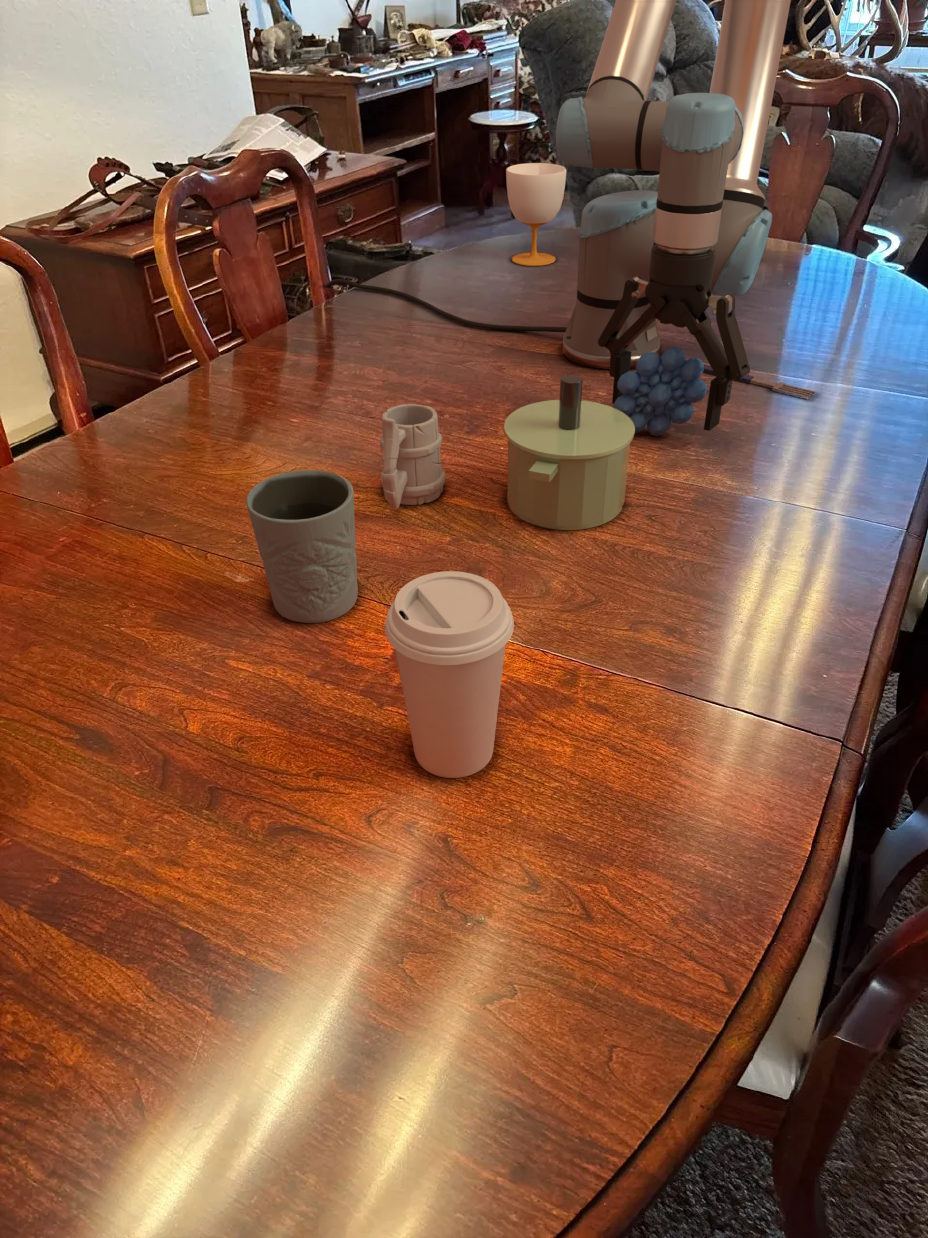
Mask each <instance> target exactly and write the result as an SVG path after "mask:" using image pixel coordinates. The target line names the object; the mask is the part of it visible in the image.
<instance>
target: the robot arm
mask: <svg viewBox="0 0 928 1238" xmlns="http://www.w3.org/2000/svg"><path fill="white" fill-rule="evenodd" d="M791 2H792V0H724V4H723V11H722V17H721V21H720V22H721V23H720V28H719V35H718V40H717V46H716V53H715V58H714V65H713V70H712V76H711V81H710V87H709V92H689V93H683V94H677V95H674V96H672V97H671V98H670V99H669V100H668V101H661V100H657V101H656V100H648V97H649V95H650V90H651V87H652V83H653V82H654V81H653V80H654V77H655V73H656V71H657V66H658V63H659V60H660V57H661V54H662V51H663V47H664V44H665V40H666V37H667V33H668V30H669V26H670V23H671V20H672V16H673V13H674V9H675V7H676V3H677V0H615V3H614V5H613V9H612V12H611V15H610V18H609V22H608V25H607V28H606V31H605V33H604V37H603V39H602V43H601V46H600V49H599V53H598V56H597V59H596V62H595V65H594V67H593V71H592V75H591V78H590V81H589V83H588V87H587V90H586V93H585V97H583V96H579V97H572V98H571V97H570V98H568V99H566V100H565V101H564V102H563V103H562V105H561V106H560V108H559V112H558V115H557V120H556V128H555V146H556V152H557V155H558V158H559V160H560V161H561V162H562V163H563V164H565V165H567V166H574V167H581V168H588V169H592V170H593V169H615V170H637V171H638V170H640V171H641V170H642V171H652V172H658V184H657V185H658V186H657V190H651V189H636V190H635V189H634V190H626V191H619V192H618V191H617V192H612V193H608V194H605V195H601V196H598V197H596V198H594V199H592V200H590V201H589V202H587V203H586V205H585V206H584V208H583V209H582V213H581V222H580V231H579V232H578V239H579V245H578V247H579V248H578V266H577V284H576V286H577V287H576V301H575V305H574V308H573V310H572V314H571V316H570V318H569V322H568V324H567V326H544V325H543V326H541V325H540V326H535V325H534V326H530V325H529V326H526V325H507V324H506V325H505V324H492V323H484V322H479V321H473V320H468V319H465V318H462V317H460V316H457V315H454V314H452V313H450V312H446V311H445V310H442V309H440V308H438V307H437V306H435V305H433V304H431V303H430V302H427V301H425V300H422V299H420V298H418V297H416V296H413V295H412V294H409V293H405V292H403V291H400V290H396V289H392V288H387V287H381V286H375V285H369V284H363V283H362V284H361V283H358V282H355V281H351V280H348V279H344V278H334V279H332V280H330V281H329V282H328V283H327V284H325V287H324V288H326V289H330V288H331V287H332V286H334V285H337V284H343V285H347V286H350V287H353V288H356V289H360V290H366V291H372V292H378V293H384V294H390V295H394V296H397V297H401V298H404V299H406V300H409V301H412V302H414V303H416V304H418V305H420V306H422V307H424V308H426V309H428V310H431V311H432V312H434V313H435V314H437V315H439V316H442V317H443V318H446V319H448V320H451V321H453V322H456V323H459V324H462V325H465V326H469V327H472V328H473V327H474V328H479V329H484V330H492V331H494V330H495V331H506V332H507V331H508V332H509V331H511V332H528V333H529V332H533V333H534V332H535V333H538V332H541V333H542V332H543V333H547V332H548V333H563V334H564V335H563V337H562V353H563V355H564V357H565V358H567V359H568V360H570V361H571V362H574V363H575V364H578V365H581V366H584V367H585V366H586V367H589V368H595V369H603V370H608V373H609V376H610V377H611V378H613V387H612V398H611V404H612V405H614V403H615V401H616V400H617V398H618V397H620V396H621V395H623V394H622V393H621V392H620V391H619V389H618V388H617V383H618V381H619V379H620V377H621V375H623V374H624V373H626V372H628V371H631V369H634V368H636V363H637V361H638V360H639V358H640V356H642V355H644V354H645V353H648V352H653V353H657V355H658V356H659V355H660V350H661V338H660V334H659V329H658V324H657V320H658V321H659V323H660V324H661V325H671V326H674V327H676V328H680V329H683V328H687V330H688V332H689V333H690V334H691V335H692V336H694V338H695V341H696V342H697V344H698V346H699V347H700V349H701V351H702V353H703V355H704V357H705V358H706V360H707V362H708V365H709V366H711V367H712V369H713V371H714V373H715V375H714V376H716V377H714V378H713V379H711V380H710V385H709V391H708V398H707V404H706V412H705V418H704V425H703V431H707V432H710V431H711V430H713V429H714V428H715V427H717V426H718V425H719V424H720V419H721V413H722V407H724V406H725V405H726V404H728V403H729V401H730V399H731V394H732V388H733V381H735V382H736V381H737V382H739V381H738V380H740V379H741V378H743V377H744V376H746V375H749V373H751V367H750V364H749V361H748V357H747V356H748V355H747V353H746V349H745V346H744V342H743V338H742V334H741V332H740V327H739V325H738V324H739V323H738V321H737V317H736V297H741V296H743V295H745V294H746V293H747V292H748V291H749V289H750V288H751V286H752V284H753V282H754V280H755V277H756V274H757V272H758V270H759V267H760V263H761V262H762V261H761V260H762V258H763V255H764V251H765V247H766V245H767V241H768V237H769V233H770V230H771V226H772V222H773V213H772V212H771V211H769V210H768V209H764V207H765V200H766V196H765V194H764V193H763V192H762V191H761V189H760V188H759V185H758V179H759V174H760V169H761V163H762V157H763V153H764V147H765V142H766V136H767V131H768V125H769V120H770V114H771V110H772V104H773V98H774V93H775V87H776V82H777V76H778V72H779V66H780V61H781V55H782V49H783V45H784V39H785V35H786V29H787V22H788V18H789V12H790V6H791ZM709 307H710V308H711V309H712V314H713V315H715V320H716V324H717V328H718V333H719V336H720V339H721V341H720V339H719V337H718V335H717V334H716V331H715V330H714V328H713V326H712V320H711V318H710V316H709V314H708V313H707V310H708V308H709ZM721 342H722V343H721ZM659 357H660V356H659Z"/></svg>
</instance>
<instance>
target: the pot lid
mask: <svg viewBox="0 0 928 1238" xmlns="http://www.w3.org/2000/svg"><path fill="white" fill-rule="evenodd" d="M559 381H560V383H559V399H549V400H543V401H538V402H533V403H530V404H527V405H524V406H521V407H519V408H517V409H516V410H513V411H512V412H511V413H510V414H509V415H508V416H507V417H506V418H505V420H504V423H503V433H504V436H505V438H506V439H507V441H508V440H509V441H510V442H511V443H512V444H513V445H515V446H516V447H518V448H520V449H522V450H524V451H526V452H529V453H532V454H535V455H538V456H543V457H548V458H555V459H572V460H575V459H590V458H596V457H602V456H606V455H609V454H612V453H615V452H617V451H619V450H621V449H623V448H625V447H626V446H627V445H628V444H630V445H631V442H632V441H633V440H634V438H635V434H636V433H635V426H634V423H633V421H632V420H631V419H630V418H629V417H628V416H627V415H626V414H624V413H623V412H621V411H619V410H617V409H615V408H613V406H610V405H607V404H605V403H604V404H603V403H599V402H595V401H590V400H582V396H583V383H584V382H583V381H584V379H583V377H582V376H580V375H576V374H566V375H565V374H564V375H562V376H561V377H560V379H559Z"/></svg>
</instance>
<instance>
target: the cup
mask: <svg viewBox="0 0 928 1238" xmlns="http://www.w3.org/2000/svg"><path fill="white" fill-rule="evenodd" d="M505 174H506V175H505V178H506V180H505V181H506V182H505V183H506V192H507V200H508V204H509V208H510V209H509V210H510V212H511V213H512V215H513V217H514V218H515V219H516V220H517V221H518V222H520V223H521V224H524V225H526V226H528V227H530V229H531V246H530V247H531V248H530V252H523V253H518V254H516V255H513V256H512V257H511V261H512V263H514V264H516V265H519V266H524V267H525V266H527V267H542V266H548V265H551V264H554V263H555V262H556V260H557V259H556V257H555V256H554V255H552V254H549V253H547V252H546V253H545V252H538V249H537V248H538V247H537V246H538V245H537V243H538V242H537V241H538V240H537V239H538V238H537V237H538V229H539V227H541V226H544V225H546V224H547V223H549V222H551V221H552V220H554V219H555V218H556V217H557V216H558V213H559V212H560V210H561V208H562V205H563V204H562V203H563V200H564V194H565V189H566V181H567V168H566V167H565V166H563V165H560V164H554V163H548V162H547V163H546V162H526V163H518V164H517V163H516V164H513V165H510V166H508V167H506V169H505Z"/></svg>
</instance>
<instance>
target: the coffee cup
mask: <svg viewBox="0 0 928 1238" xmlns="http://www.w3.org/2000/svg"><path fill="white" fill-rule="evenodd" d="M514 630H515V620H514V616H513V613H512V609H511V608H510V606H509V604H508V601H507V600H506V599H505V597H503V595H502V592H501V591H500V589H499V588H498V587H497V586H496V585H495V584H494V583H493V582H491V581H490V580H488V579H486V578H484V577H482V576H480V575H478V574H474V573H471V572H465V571H456V570H448V571H447V570H446V571H445V570H444V571H437V572H431V573H427V574H423V575H421V576H418V577H416V578H414V579H412V580H410V581H408V582H407V583H405V584H404V585H403V586H402V587H401V588H400V589H399V590H398V592H397V593H396V596H395V598H394V601H393V602H392V603H391V605H390V607H389V609H388V611H387V613H386V618H385V622H384V633H385V636H386V638H387V641H388V642H389V644H390V645H391V646H392V647H393V648H394V653H395V657H396V662H397V668H398V673H399V678H400V684H401V688H402V689H401V690H402V695H403V699H404V705H405V709H406V716H407V720H408V726H409V732H410V736H411V742H412V747H413V752H414V757H415V759H416V761H417V763H418V764H419V766H421V768H422V769H423V770H425V771H426V772H428V773H430V774H432V775H434V776H436V777H441V778H447V779H459V778H465V777H468V776H472V775H474V774H476V773H479V772H480V771H482V770H483V769H484V768H486V766H487V765H488V764H489V763H490V761H491V760H492V757H493V754H494V748H495V740H496V739H495V738H496V730H497V728H496V727H497V721H498V713H499V704H500V695H501V687H502V679H503V669H504V661H505V653H506V647H507V643H508V642H509V641H510V639H511V638H512V636H513V633H514Z"/></svg>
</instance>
